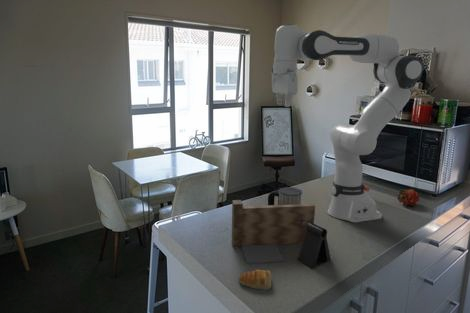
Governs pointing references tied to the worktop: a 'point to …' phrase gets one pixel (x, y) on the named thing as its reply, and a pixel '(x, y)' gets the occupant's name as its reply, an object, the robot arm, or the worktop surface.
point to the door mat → (262, 253)
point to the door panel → (270, 223)
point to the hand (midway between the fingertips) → (283, 105)
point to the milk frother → (285, 196)
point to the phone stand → (314, 247)
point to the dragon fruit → (408, 197)
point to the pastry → (256, 279)
